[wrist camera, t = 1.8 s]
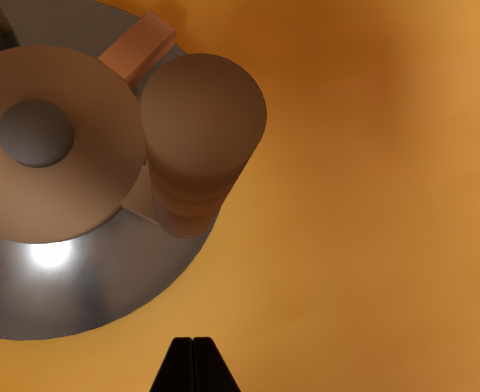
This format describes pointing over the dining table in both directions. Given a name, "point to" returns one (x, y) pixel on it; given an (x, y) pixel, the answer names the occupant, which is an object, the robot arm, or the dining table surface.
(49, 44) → the post base
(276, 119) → the dining table surface
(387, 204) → the dining table surface
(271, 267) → the dining table surface
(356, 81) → the dining table surface
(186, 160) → the crank handle
